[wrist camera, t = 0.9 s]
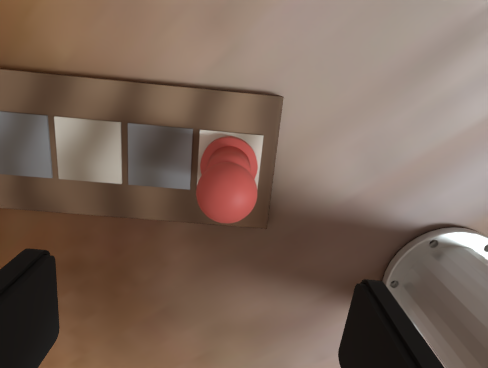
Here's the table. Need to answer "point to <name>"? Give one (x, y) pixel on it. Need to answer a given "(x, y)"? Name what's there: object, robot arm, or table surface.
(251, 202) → the pawn
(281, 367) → the table surface
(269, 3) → the table surface
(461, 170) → the table surface
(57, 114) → the board
